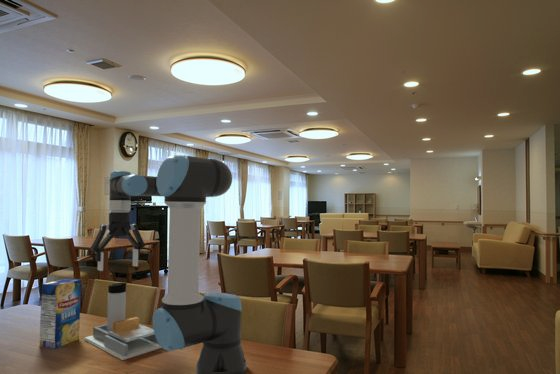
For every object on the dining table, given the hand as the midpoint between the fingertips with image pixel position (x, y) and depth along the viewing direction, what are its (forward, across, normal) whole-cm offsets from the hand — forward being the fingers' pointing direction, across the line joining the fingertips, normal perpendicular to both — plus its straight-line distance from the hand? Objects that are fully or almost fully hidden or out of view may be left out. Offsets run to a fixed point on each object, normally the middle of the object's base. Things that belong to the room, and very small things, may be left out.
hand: (118, 268), depth 144 cm
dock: (+27, 0, +6) cm, 27 cm away
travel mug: (+26, 0, 0) cm, 26 cm away
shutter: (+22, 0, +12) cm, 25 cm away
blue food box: (+27, +15, -12) cm, 33 cm away
